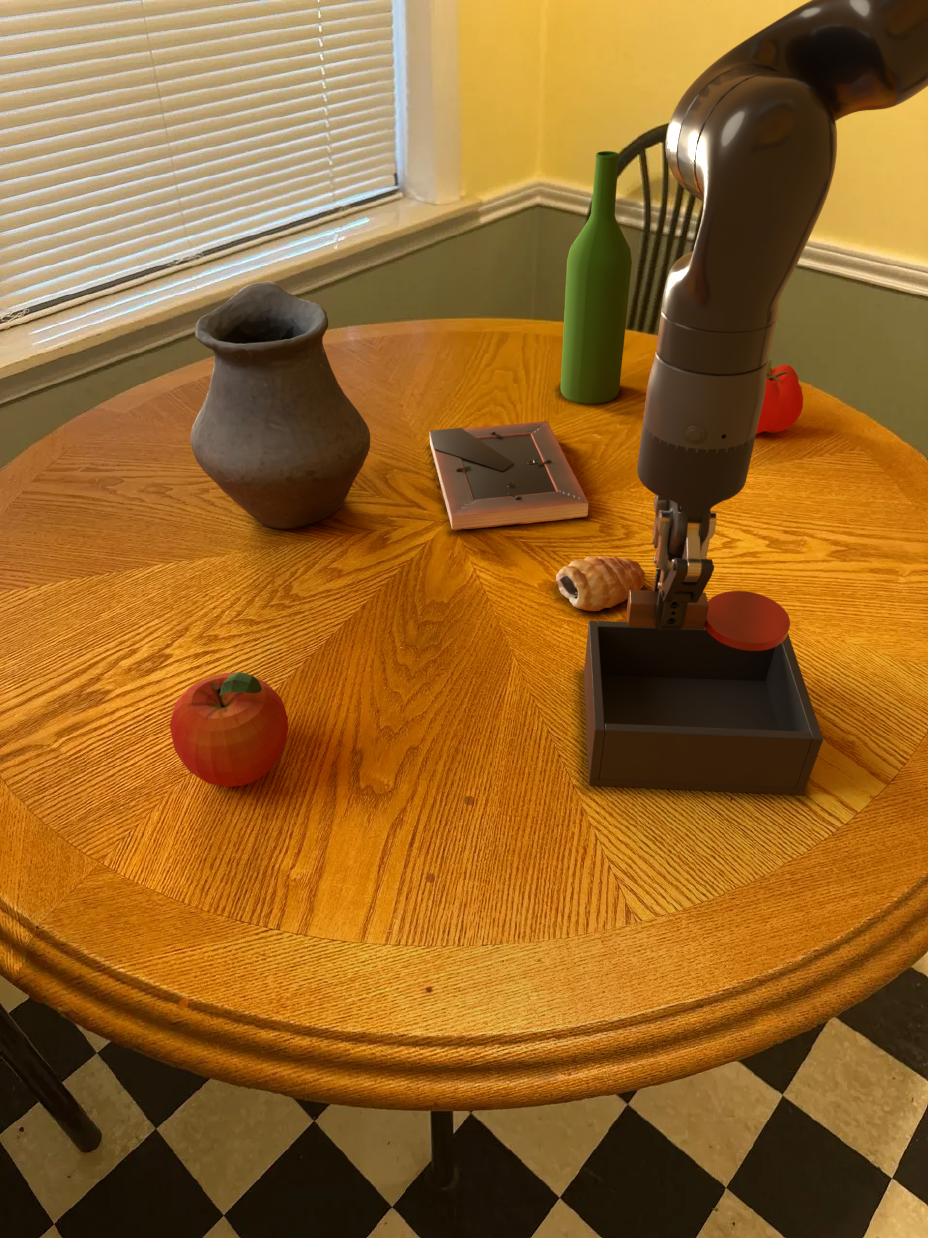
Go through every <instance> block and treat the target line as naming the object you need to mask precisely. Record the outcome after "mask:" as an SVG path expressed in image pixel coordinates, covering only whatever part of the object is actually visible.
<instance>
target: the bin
mask: <svg viewBox="0 0 928 1238" xmlns="http://www.w3.org/2000/svg"><path fill="white" fill-rule="evenodd" d="M586 636H587V637H586V645H585V648H586V649H585V656H584V657H585V658H584V666H583V667H584V669H583V688H584V689H583V691H584V706H585V707H584V711H585V732H586V733H585V734H586V751H587V752H586V754H587V755H586V757H587V777H588V778H587V780H588V785H589V786H594V787H595V786H596V787H616V788H634V789H635V788H636V789H657V790H677V791H679V790H681V791H700V792H701V791H702V792H703V791H704V792H720V793H721V792H723V793H724V792H725V793H741V794H742V793H743V794H744V793H745V794H765V795H766V794H769V795H785V796H786V795H787V796H804V795H805V791H806V789H807V786H808V784H809V780H810V779H811V778H810V777H811V775H812V772H813V769H814V766H815V764H816V762H817V758H818V756H819V753H820V751H821V747H822V744H823V742H824V736H823V734H822V731H821V728H820V725H819V722H818V720H817V719H818V718H817V715H816V712H815V710H814V706H813V704H812V701H811V698H810V695H809V692H808V689H807V685H806V683H805V680H804V677H803V673H802V670H801V668H800V664H799V663H798V662H799V661H798V658H797V655H796V653H795V650H794V647H793V643H792V640H791V637H790V634H789V633H788V635H787V637H786V639H785V640H784V641H783V642H782V643H781V644H779V645H778V646H776V647H774V648H771V649H768V650H762V651H747V650H740V649H736V648H733V647H730V646H727V645H725V644H723V643H721V642H719V641H718V640H716V639H715V638H714V637H712V636H711V635H710V634H709V633H708V631H707V630H706V628H704V629H680V630H659V629H657V628H650V627H628V622H627V621H612V620H611V621H610V620H608V621H607V620H598V621H597V620H588V626H587V635H586Z"/></svg>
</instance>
